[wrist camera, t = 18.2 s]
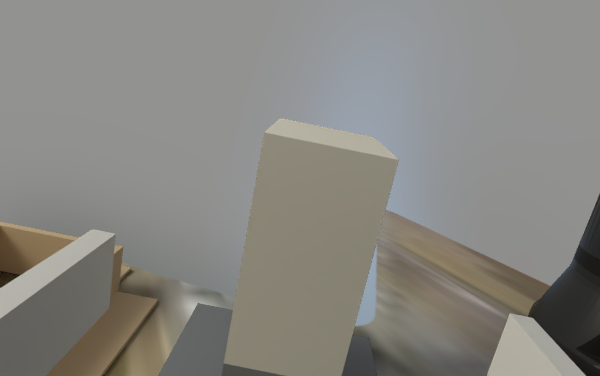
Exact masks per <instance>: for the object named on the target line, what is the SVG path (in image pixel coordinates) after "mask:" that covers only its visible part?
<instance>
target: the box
mask: <svg viewBox="0 0 600 376" xmlns="http://www.w3.org/2000/svg"><path fill="white" fill-rule="evenodd" d="M398 161H399V160H398V159H397V158H396V157H395V156H394V155H393V154H392V153H391V152H390V151H389V150H387V149H386V148H385V147H384V146H383V145H382V144H381V143H380V142H379V141H378V140H377V139H375V138H374V137H370V136H365V135H361V134H356V133H350V132H346V131H341V130H336V129H331V128H326V127H322V126H316V125H311V124H307V123H302V122H297V121H292V120H287V119H283V118H280V119H279V120H278V121H277V122H276V123H275V124H273V125H272V126H271V127H270V128H269V129H268V130H266V131H265V132H264V137H263V143H262V149H261V154H260V160H259V166H258V171H257V177H256V183H255V188H254V194H253V200H252V206H251V211H250V217H249V222H248V228H247V234H246V239H245V245H244V251H243V256H242V263H241V268H240V274H239V279H238V285H237V290H236V296H235V302H234V307H233V313H232V319H231V324H230V330H229V336H228V341H227V347H226V353H225V358H224V364H223V370H222V375H221V376H342V372H343V368H344V364H345V361H346V357H347V353H348V349H349V346H350V342H351V338H352V334H353V331H354V327H355V323H356V319H357V315H358V312H359V308H360V304H361V300H362V297H363V292H364V289H365V285H366V282H367V277H368V274H369V270H370V266H371V263H372V259H373V255H374V251H375V248H376V244H377V240H378V236H379V233H380V229H381V225H382V221H383V218H384V214H385V210H386V206H387V203H388V198H389V195H390V191H391V187H392V183H393V180H394V176H395V172H396V169H397V165H398Z"/></svg>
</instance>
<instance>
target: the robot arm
mask: <svg viewBox="0 0 600 376" xmlns="http://www.w3.org/2000/svg"><path fill="white" fill-rule="evenodd" d="M115 236H116V234H113V233H108V232H103V231H98V230H94V229H92V230H91V231H89V232H88V233H86V234H84V235H83V236H81V237H80V238H78V239H77V240H75V241H73V242H72V243H70V244H69V245H67V246H66V247H64V248H62V249H61V250H59V251H58V252H56V253H55V254H53V255H51V256H50V257H48V258H47V259H45V260H44V261H42V262H41V263H39V264H37V265H36V266H34V267H33V268H31V269H30V270H28V271H26V272H25V273H23V274H22V275H20V276H19V277H17V278H15V279H14V280H12V281H11V282H9V283H8V284H6V285H4V286H3V287H1V288H0V376H46V375H47V374H48V373H49V372H50V371H51V370H52V369H53V367H54V366H55V365H56V364H57V363H58V362H59V361H60V360H61V359H62V358H63V357H64V356H65V355H66V354H67V353H68V352H69V350H70V349H71V348H72V347H73V346H74V345H75V344H76V343H77V342H78V341H79V340H80V339H81V338H82V337H83V336H84V334H85V333H86V332H87V331H88V330H89V329H90V328H91V327H92V326H93V325H94V324H95V323H96V322H97V321H98V320H99V319H100V317H101V316H102V315H103V314H104V313H105V312H106V311H107V310H108V309H109V306H110V295H111V283H112V271H113V260H114V248H115ZM487 376H600V195H599V197H598V200H597V202H596V205H595V207H594V210H593V212H592V214H591V217H590V219H589V222H588V224H587V227H586V229H585V231H584V234H583V236H582V239H581V241H580V244H579V246H578V248H577V251H576V254H575V256H574V258H573V261H572V263H571V264H570V266H569V267H568V268H567V269H566V270H565V272H564V273H563V274H562V275H561V276H560V277H559V278H558V279H557V280H556V281H555V282H554V283H553V285H552V286H551V287H550V288H549V289H548V290H547V292H546V293H545V294H544V295H543V296H542V298H541V299H539V300H538V301H536V302H535V303H534V304H533V306H532V307H531V309H530V312H529V315H528V317H525V316H520V315H515V314H511V313H510V315H509V317H508V320H507V323H506V325H505V328H504V331H503V333H502V336H501V339H500V341H499V344H498V347H497V349H496V352H495V355H494V357H493V360H492V363H491V366H490V368H489V371H488V374H487Z"/></svg>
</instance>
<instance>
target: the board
mask: <svg viewBox="0 0 600 376" xmlns="http://www.w3.org/2000/svg"><path fill="white" fill-rule="evenodd" d="M232 313H233V310H229V309H224V308H219V307H214V306H209V305H204V304H199V303H198V304H197V306H196V308H195V310H194V312H193V314H192V315H191V317H190V319H189V321H188V323H187V324H186V326H185V328H184V330H183V332H182V333H181V335H180V337H179V339H178V341H177V343H176V344H175V346H174V348H173V350H172V352H171V353H170V355H169V357H168V359H167V361H166V362H165V364H164V366H163V368H162V370H161V372H160V373H159V375H158V376H221V375H222V370H223V364H224V358H225V353H226V347H227V341H228V336H229V330H230V324H231V319H232ZM342 376H377V373H376V368H375V363H374V358H373V353H372V349H371V344H370V339H369V338H368V337H363V336H358V335H353V334H352V338H351V342H350V346H349V349H348V353H347V357H346V361H345V364H344V368H343V372H342Z"/></svg>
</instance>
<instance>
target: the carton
mask: <svg viewBox="0 0 600 376" xmlns="http://www.w3.org/2000/svg"><path fill="white" fill-rule="evenodd" d="M77 239H78V237H73V236H68V235H63V234H58V233H53V232H48V231H44V230H38V229H34V228H29V227H24V226H19V225H14V224H9V223H4V222H0V271H4V272H8V273H13V274H18V275H22V274H23V273H25V272H26V271H28V270H30V269H31V268H33V267H34V266H36V265H37V264H39V263H41V262H42V261H44V260H45V259H47V258H48V257H50V256H51V255H53V254H55V253H56V252H58V251H59V250H61V249H62V248H64V247H66V246H67V245H69V244H70V243H72V242H73V241H75V240H77ZM122 252H123V247H122V246H118V245H115V248H114V260H113V271H112V283H111V295H110V306H109V309H108V310H107V311H106V312H105V313H104V314H103V315H102V316H101V317H100V319H99V320H98V321H97V322H96V323H95V324H94V325H93V326H92V327H91V328H90V329H89V330H88V331H87V332H86V333H85V334H84V336H83V337H82V338H81V339H80V340H79V341H78V342H77V343H76V344H75V345H74V346H73V347H72V348H71V349H70V350H69V352H68V353H67V354H66V355H65V356H64V357H63V358H62V359H61V360H60V361H59V362H58V363H57V364H56V365H55V366H54V367H53V369H52V370H51V371H50V372H49V373H48V374H47V375H46V376H103V375H104V374H105V373H106V371H107V370H108V369H109V367H110V366H111V365H112V363H113V362H114V361H115V359H116V358H117V357H118V355H119V354H120V352H121V351H122V350H123V348H124V347H125V346H126V344H127V343H128V342H129V340H130V339H131V338H132V336H133V335H134V334H135V332H136V331H137V330H138V328H139V327H140V325H141V324H142V323H143V321H144V320H145V319H146V317H147V316H148V315H149V313H150V312H151V311H152V309H153V308H154V307H155V305H156V304H157V303H158V299H154V298H149V297H144V296H139V295H134V294H129V293H124V292H119V285H120V281H121V280H122V279H123V278H124V277H125V276H126V275H127V274H128V273H129V272H130V271H131V267H126V266H122V265H121V263H122Z"/></svg>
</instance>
